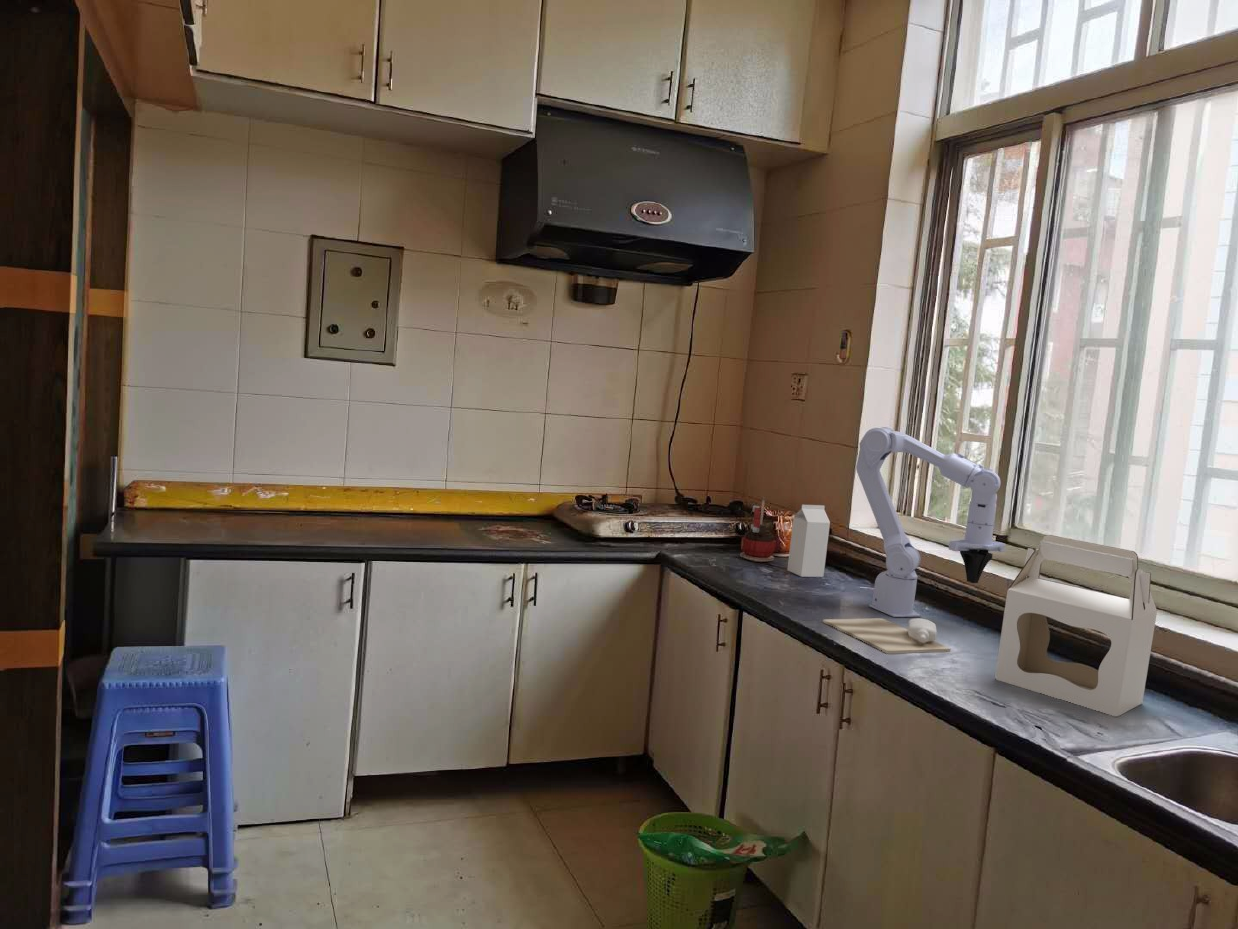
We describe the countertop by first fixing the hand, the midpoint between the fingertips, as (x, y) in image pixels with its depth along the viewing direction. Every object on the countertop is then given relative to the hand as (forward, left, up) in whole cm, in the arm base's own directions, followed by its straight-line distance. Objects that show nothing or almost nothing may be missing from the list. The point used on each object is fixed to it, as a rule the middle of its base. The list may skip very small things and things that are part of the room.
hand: (972, 582), depth 218 cm
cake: (-67, -15, -11) cm, 69 cm away
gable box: (+40, -13, -11) cm, 43 cm away
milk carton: (-50, -10, -11) cm, 52 cm away
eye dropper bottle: (+5, -18, -8) cm, 20 cm away
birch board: (+5, -27, -10) cm, 29 cm away
